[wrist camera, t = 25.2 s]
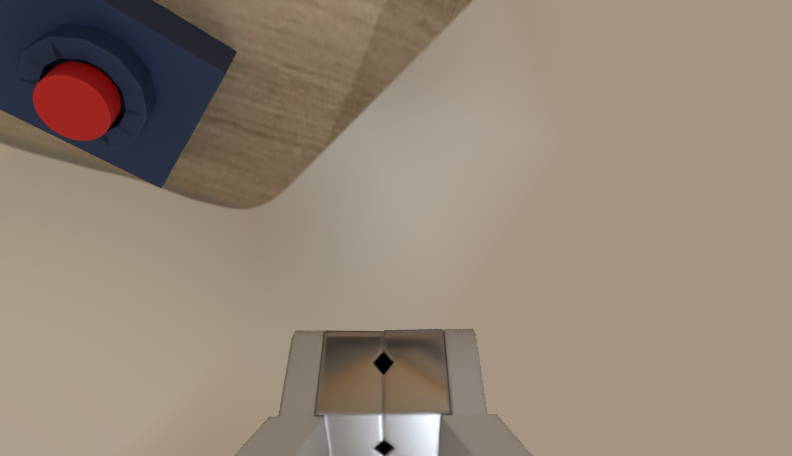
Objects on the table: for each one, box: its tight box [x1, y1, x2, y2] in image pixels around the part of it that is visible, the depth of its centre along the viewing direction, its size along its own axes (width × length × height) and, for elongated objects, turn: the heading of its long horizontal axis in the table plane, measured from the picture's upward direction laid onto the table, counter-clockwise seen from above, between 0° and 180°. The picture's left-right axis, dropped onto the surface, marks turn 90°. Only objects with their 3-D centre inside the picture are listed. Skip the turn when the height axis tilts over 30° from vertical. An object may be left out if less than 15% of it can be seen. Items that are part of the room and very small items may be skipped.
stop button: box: [33, 62, 121, 141], centre depth 33 cm, size 4×4×2 cm
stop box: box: [0, 0, 236, 188], centre depth 35 cm, size 12×10×5 cm
